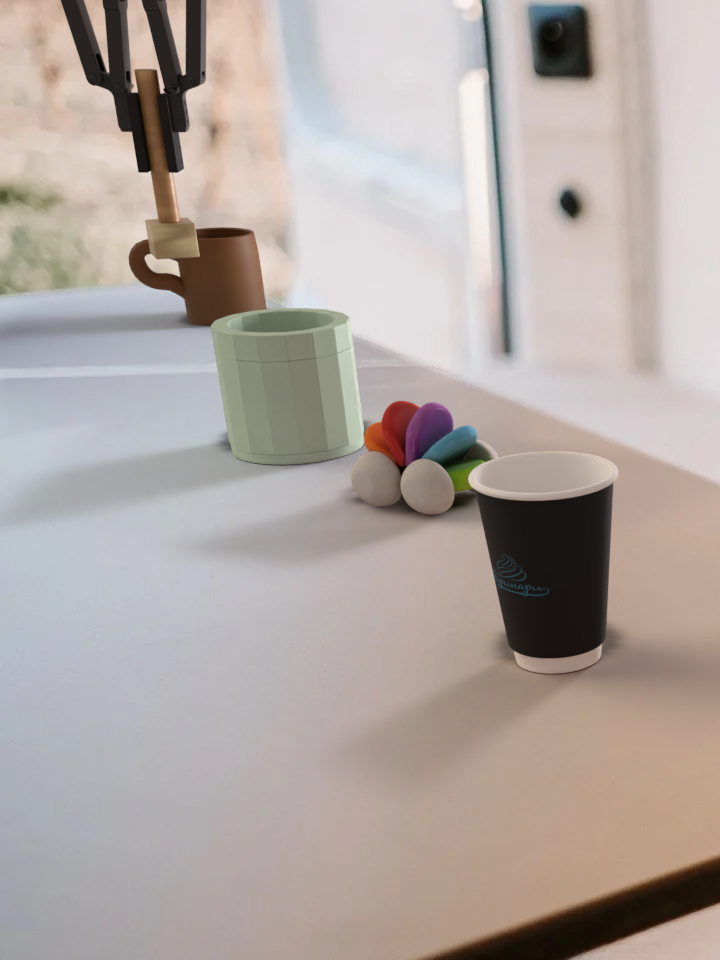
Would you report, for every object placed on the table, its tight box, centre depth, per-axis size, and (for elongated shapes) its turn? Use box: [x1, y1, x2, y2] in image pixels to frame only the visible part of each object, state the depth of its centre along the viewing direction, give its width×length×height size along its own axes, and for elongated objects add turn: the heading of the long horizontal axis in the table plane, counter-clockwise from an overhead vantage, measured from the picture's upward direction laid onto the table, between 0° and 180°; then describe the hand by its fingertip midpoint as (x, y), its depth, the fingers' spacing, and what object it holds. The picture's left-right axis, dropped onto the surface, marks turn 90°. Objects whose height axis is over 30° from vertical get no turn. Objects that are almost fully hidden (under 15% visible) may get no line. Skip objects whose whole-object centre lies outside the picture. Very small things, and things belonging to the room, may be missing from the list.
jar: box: [210, 307, 365, 466], centre depth 126 cm, size 10×10×10 cm
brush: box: [134, 68, 200, 260], centre depth 144 cm, size 4×4×16 cm
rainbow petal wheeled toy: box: [350, 400, 500, 516], centre depth 115 cm, size 8×10×7 cm
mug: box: [128, 226, 268, 327], centre depth 163 cm, size 12×8×9 cm, turn 119°
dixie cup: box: [468, 450, 619, 675], centre depth 90 cm, size 8×8×11 cm
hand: (161, 170), depth 144 cm, fingers closed on brush, 2 cm apart
